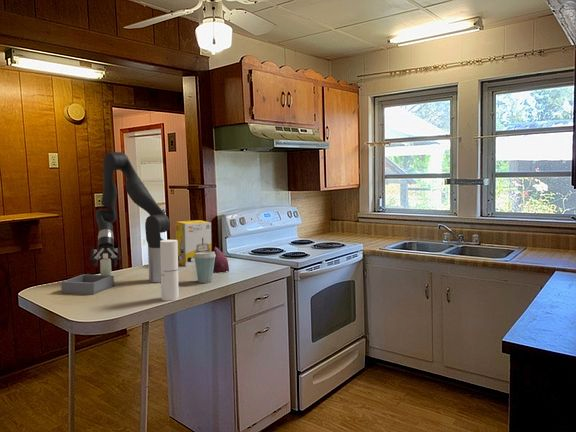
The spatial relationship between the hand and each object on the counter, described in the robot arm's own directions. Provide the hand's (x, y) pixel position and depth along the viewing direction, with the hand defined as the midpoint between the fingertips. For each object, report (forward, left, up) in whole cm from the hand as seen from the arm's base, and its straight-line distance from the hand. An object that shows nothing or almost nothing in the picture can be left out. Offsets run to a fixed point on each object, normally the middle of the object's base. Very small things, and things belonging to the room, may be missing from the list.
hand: (105, 265), depth 224 cm
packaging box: (-25, -53, -8) cm, 59 cm away
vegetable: (-48, -34, -8) cm, 59 cm away
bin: (-1, +16, -8) cm, 18 cm away
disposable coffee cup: (-49, -8, -8) cm, 50 cm away
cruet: (0, 0, -8) cm, 8 cm away
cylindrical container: (-45, +24, -8) cm, 52 cm away
